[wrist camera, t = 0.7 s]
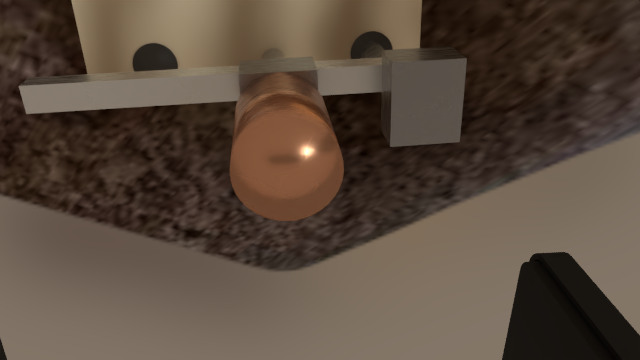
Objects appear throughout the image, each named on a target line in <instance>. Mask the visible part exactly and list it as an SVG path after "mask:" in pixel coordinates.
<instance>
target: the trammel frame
mask: <svg viewBox="0 0 640 360" xmlns="http://www.w3.org/2000/svg"><path fill="white" fill-rule="evenodd" d="M360 54H361V58H362V59H345V60H327V61H314V62H315V65H316V67H317V74H318V91H319V92H320V94H321V96H323V95H339V94H356V93H372V92H382V94H381V131H382V133H383V134H384V136H385V138H386V140H387V142H388V144H389V146H390V147H396V146H411V145H425V144H439V143H454V142H460V133H461V122H462V110H463V99H464V87H465V76H466V64H467V58H466V57H465V56H463V55H462V54H461V53H459V52H458V51H457V50H456V49H454V48H453V47H452V46H449V47H431V48H413V49H395V50H384V49H383V48H382V46H381V45H380V44H379V43H377V42H368V43H366V44H365V45H364V46H363V47H362V49H361V53H360ZM238 73H239V66H223V67H205V68H188V69H170V70H153V71H136V72H118V73H101V74H83V75H66V76H48V77H31V78H28V79H27V80H25V81H24V82H23V83H22V84H21V85H19V89H20V93H21V96H22V100H23V104H24V107H25V111H26V114H33V113H49V112H66V111H82V110H98V109H114V108H130V107H146V106H162V105H178V104H194V103H211V102H227V101H238V99H239V97H240V86H239V76H238Z"/></svg>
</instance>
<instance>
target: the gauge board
mask: <svg viewBox="0 0 640 360" xmlns="http://www.w3.org/2000/svg"><path fill="white" fill-rule="evenodd" d="M71 1H72V5H73V10H74V14H75V19H76V24H77V28H78V33H79V37H80V42H81V46H82V51H83V55H84V60H85V64H86V69H87V74H101V73H118V72H136V71H153V70H170V69H188V68H205V67H223V66H239V62H240V61H244V60H262V56H263V54H264V52H265V51H267V50H268V49H271V48H275V49H279V50H280V51H282V52H283V54H284V56H285V58H297V57H313V59H314V61H327V60H345V59H362V58H361V54H360V53H361V49H362V47H363V46H364V45H365V44H366V43H368V42H377V43H379V44H380V45H381V46H382V48H383V49H384V50H395V49H413V48H420V32H421V11H422V0H71Z"/></svg>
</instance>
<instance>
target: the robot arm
mask: <svg viewBox="0 0 640 360" xmlns="http://www.w3.org/2000/svg"><path fill="white" fill-rule="evenodd" d="M0 360H7V358H6V355H5V352H4V349H3V346H2V342H1V340H0ZM502 360H640V335H639V334H638V333H637V332H636V331H635V330H634V328H633V327H632V326H631V325H630V324H629V323H628V321H627V320H626V319H625V318H624V317H623V316H622V314H621V313H620V312H619V311H618V310H617V309H616V307H615V306H614V305H613V304H612V303H611V302H610V300H609V299H608V298H607V297H606V296H605V295H604V294H603V292H602V291H601V290H600V289H599V288H598V287H597V285H596V284H595V283H594V282H593V281H592V280H591V278H590V277H589V276H588V275H587V274H586V273H585V271H584V270H583V269H582V268H581V267H580V266H579V265H578V263H577V262H576V261H575V260H574V259H573V258H572V256H570V255H569V254H568V253H565V252H558V253H557V252H556V253H537V254H534V255H532V257H531V258H530V261H529V262H525V263H523V264H522V266H521V269H520V274H519V279H518V283H517V289H516V293H515V298H514V304H513V309H512V314H511V318H510V323H509V328H508V333H507V338H506V343H505V348H504V353H503V358H502Z"/></svg>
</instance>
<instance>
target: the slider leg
mask: <svg viewBox="0 0 640 360" xmlns="http://www.w3.org/2000/svg"><path fill="white" fill-rule="evenodd" d="M238 76H239V86H240V97H239V99H238V101H237V104H236V108H235V118H234V129H233V140H232V150H231V161H230V178H231V183H232V186H233V189H234V191H235V193H236V195H237V196H238V198H239V199H240V200H241V202H242V203H243V204H244V205H245V206H246V207H248V208H249V209H250V210H251V211H253V212H255V213H256V214H258V215H260V216H263V217H266V218H269V219H273V220H279V221H292V220H299V219H302V218H306V217H308V216H311V215H313V214H315V213H317V212H318V211H320V210H321V209H323V208H324V207H325V206H326V205H328V204H329V203H330V201H331V200H332V199H333V198H334V197H335V195H336V194H337V192H338V190H339V188H340V185H341V183H342V179H343V174H344V163H343V158H342V154H341V151H340V148H339V145H338V142H337V139H336V136H335V133H334V130H333V127H332V124H331V121H330V118H329V115H328V112H327V109H326V106H325V103H324V100H323V98H322V96H321V94H320V92H319V91H318V74H317V67H316V65H315V62H314V59H313V57H297V58H285V56H284V54H283V52H282V51H280V50H279V49H275V48H271V49H268V50H267V51H265V52H264V54H263V56H262V60H244V61H240V62H239V73H238Z"/></svg>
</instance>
